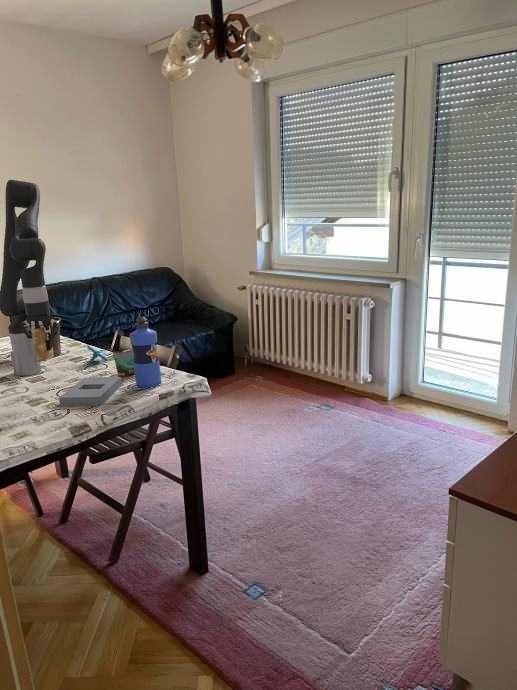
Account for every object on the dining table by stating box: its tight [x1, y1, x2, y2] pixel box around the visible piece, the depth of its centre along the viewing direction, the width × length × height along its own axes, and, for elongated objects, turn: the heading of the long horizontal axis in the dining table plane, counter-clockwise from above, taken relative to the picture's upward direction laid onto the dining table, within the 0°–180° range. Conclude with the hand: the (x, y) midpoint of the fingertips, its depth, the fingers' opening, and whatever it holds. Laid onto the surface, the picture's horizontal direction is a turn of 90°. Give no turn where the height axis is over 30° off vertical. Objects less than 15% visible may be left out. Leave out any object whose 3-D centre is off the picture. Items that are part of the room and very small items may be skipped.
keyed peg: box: [32, 328, 55, 363], centre depth 177 cm, size 3×6×11 cm, turn 174°
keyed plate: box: [58, 376, 123, 407], centre depth 181 cm, size 14×20×3 cm
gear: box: [86, 345, 108, 364], centre depth 221 cm, size 11×6×10 cm
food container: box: [112, 347, 135, 378], centre depth 201 cm, size 12×6×10 cm, turn 148°
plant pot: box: [49, 316, 62, 358], centre depth 234 cm, size 16×16×16 cm
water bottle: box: [129, 315, 162, 389], centre depth 186 cm, size 9×9×25 cm
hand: (44, 349), depth 178 cm, fingers closed on keyed peg, 3 cm apart
